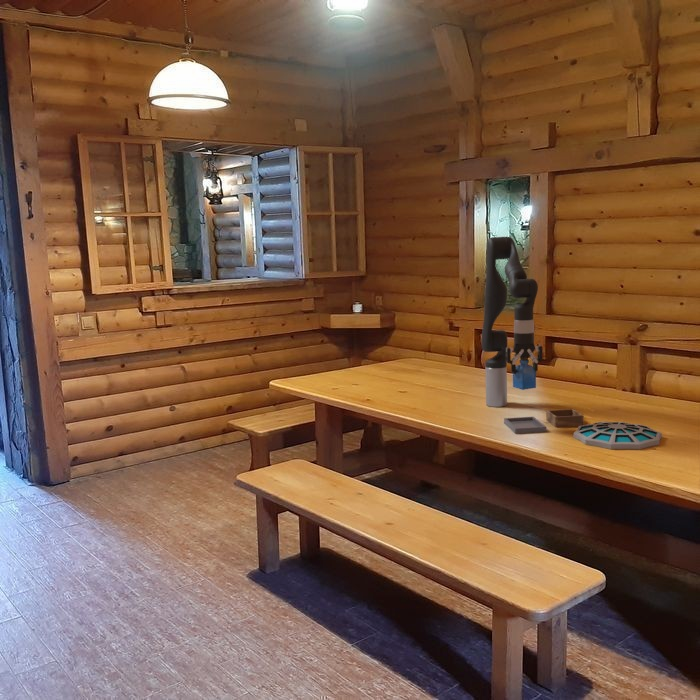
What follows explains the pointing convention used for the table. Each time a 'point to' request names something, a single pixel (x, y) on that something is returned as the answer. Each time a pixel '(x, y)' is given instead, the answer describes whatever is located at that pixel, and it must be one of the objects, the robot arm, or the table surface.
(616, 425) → the decorative platform
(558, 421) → the holder
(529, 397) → the table surface
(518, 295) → the robot arm
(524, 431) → the tray
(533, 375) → the perfume bottle
